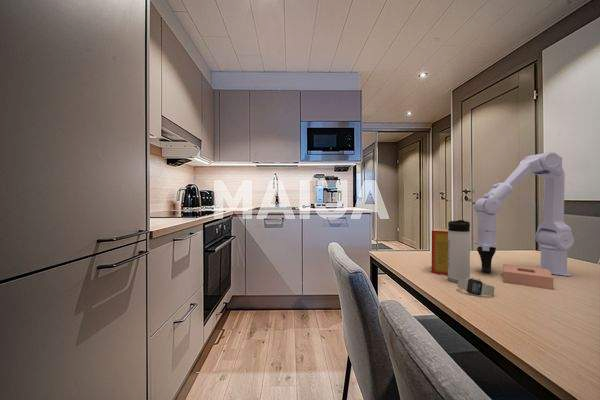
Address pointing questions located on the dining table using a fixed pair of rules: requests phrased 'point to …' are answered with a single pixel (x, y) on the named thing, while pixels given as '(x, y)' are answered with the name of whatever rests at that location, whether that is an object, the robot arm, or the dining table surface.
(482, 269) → the peg
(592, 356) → the dining table surface
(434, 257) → the baking soda box
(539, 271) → the socket block
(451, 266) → the travel mug
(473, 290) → the wristwatch
